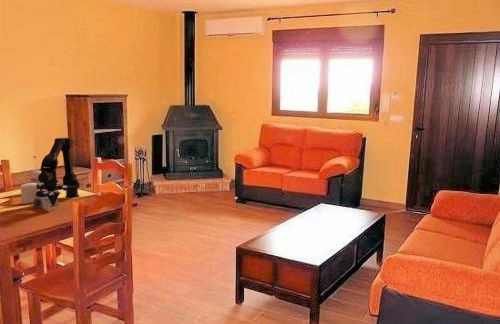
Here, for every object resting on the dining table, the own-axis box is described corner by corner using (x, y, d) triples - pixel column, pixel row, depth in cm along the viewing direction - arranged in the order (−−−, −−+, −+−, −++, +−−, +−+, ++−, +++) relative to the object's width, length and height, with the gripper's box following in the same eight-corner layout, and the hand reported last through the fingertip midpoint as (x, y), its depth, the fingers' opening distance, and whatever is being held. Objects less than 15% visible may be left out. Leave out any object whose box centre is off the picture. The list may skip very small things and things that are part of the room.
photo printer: (39, 200, 271) (38, 181, 268) (40, 202, 267) (39, 182, 265) (21, 203, 265) (19, 183, 263) (22, 204, 262) (20, 184, 259)
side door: (50, 212, 247) (50, 203, 246) (47, 212, 246) (47, 203, 245) (44, 208, 254) (43, 199, 253) (41, 208, 253) (40, 200, 252)
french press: (41, 194, 286) (38, 157, 282) (23, 194, 286) (20, 157, 282) (48, 190, 296) (45, 154, 291) (31, 190, 296) (28, 154, 292)
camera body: (49, 202, 266) (49, 193, 265) (58, 204, 262) (57, 195, 261) (32, 207, 256) (31, 197, 255) (40, 209, 252) (39, 199, 251)
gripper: (53, 174, 260) (54, 199, 263) (27, 181, 243) (29, 207, 246) (67, 176, 256) (69, 201, 259) (42, 183, 239) (44, 210, 242)
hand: (53, 204), depth 252 cm, fingers closed
